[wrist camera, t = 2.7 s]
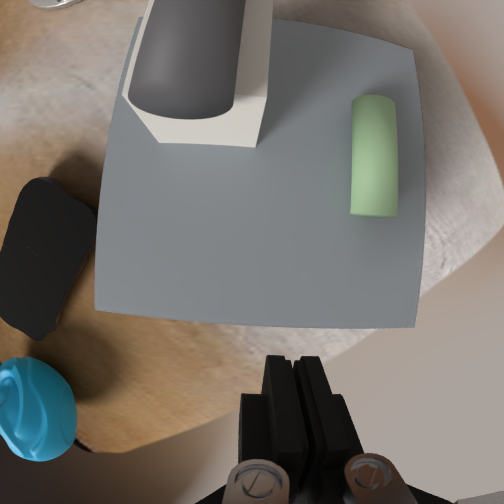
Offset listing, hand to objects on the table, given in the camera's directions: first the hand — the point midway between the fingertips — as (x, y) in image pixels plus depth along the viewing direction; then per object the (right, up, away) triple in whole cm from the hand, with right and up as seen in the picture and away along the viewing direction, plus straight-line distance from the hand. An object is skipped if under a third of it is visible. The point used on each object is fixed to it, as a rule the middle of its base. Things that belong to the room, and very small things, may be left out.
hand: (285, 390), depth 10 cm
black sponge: (-21, +4, +17) cm, 27 cm away
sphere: (-25, -11, +21) cm, 34 cm away
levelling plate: (0, +10, +9) cm, 13 cm away
